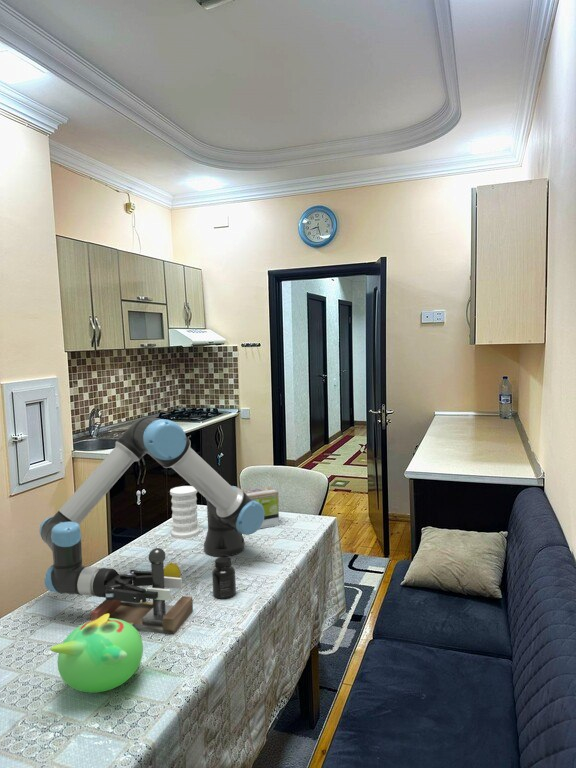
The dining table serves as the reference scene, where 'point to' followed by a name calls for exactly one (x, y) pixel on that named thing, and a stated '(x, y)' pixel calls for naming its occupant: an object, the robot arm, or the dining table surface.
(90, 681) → the toy bird
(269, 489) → the tea box
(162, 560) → the press handle
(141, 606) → the press base
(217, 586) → the supplement bottle
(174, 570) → the lemon
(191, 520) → the decorative container
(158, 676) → the dining table surface
